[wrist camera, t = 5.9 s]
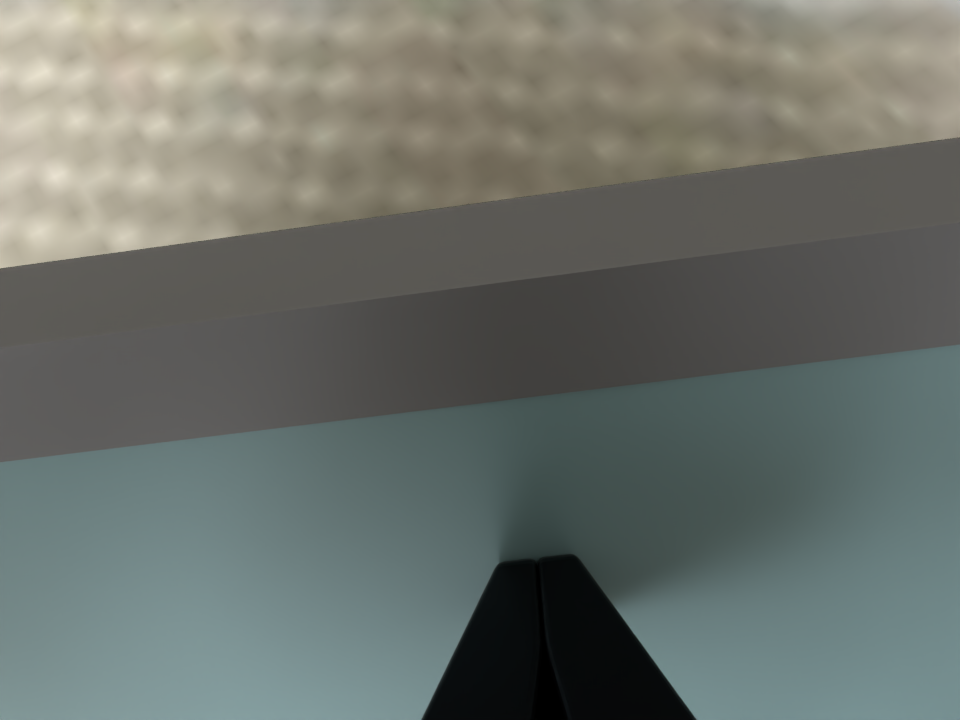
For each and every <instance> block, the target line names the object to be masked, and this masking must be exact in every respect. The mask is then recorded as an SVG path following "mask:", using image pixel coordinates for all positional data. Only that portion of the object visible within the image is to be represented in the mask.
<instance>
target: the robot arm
mask: <svg viewBox="0 0 960 720" xmlns="http://www.w3.org/2000/svg"><path fill="white" fill-rule="evenodd" d="M421 720H697V719H696V718H695V716H694V715H693V714H692V712H691V711H690V710H689V708H688V707H687V705H686V704H685V703H684V701H683V700H682V699H681V697H680V696H679V694H678V693H677V692H676V690H675V689H674V688H673V686H672V685H671V683H670V682H669V681H668V679H667V678H666V677H665V675H664V674H663V672H662V671H661V670H660V668H659V667H658V666H657V664H656V663H655V662H654V660H653V659H652V657H651V656H650V655H649V653H648V652H647V651H646V649H645V648H644V646H643V645H642V644H641V642H640V641H639V640H638V638H637V637H636V635H635V634H634V633H633V631H632V630H631V629H630V627H629V626H628V624H627V623H626V622H625V620H624V619H623V618H622V616H621V615H620V613H619V612H618V611H617V609H616V608H615V607H614V605H613V604H612V602H611V601H610V600H609V598H608V597H607V596H606V594H605V593H604V591H603V590H602V589H601V587H600V586H599V585H598V583H597V582H596V580H595V579H594V578H593V576H592V575H591V574H590V572H589V571H588V569H587V568H586V567H585V565H584V564H583V563H582V561H581V560H580V559H579V558H578V557H577V556H576V555H574V554H566V555H557V556H548V557H542V558H541V559H539V561H538V566H537V563H536V562H535V560H533V559H521V560H512V561H504V562H500V563H499V564H497V566H496V567H495V569H494V570H493V573H492V575H491V577H490V579H489V581H488V583H487V585H486V587H485V589H484V591H483V593H482V595H481V597H480V599H479V601H478V603H477V605H476V608H475V610H474V612H473V614H472V616H471V618H470V620H469V622H468V624H467V626H466V628H465V630H464V632H463V634H462V636H461V638H460V640H459V643H458V645H457V647H456V649H455V651H454V653H453V655H452V657H451V659H450V661H449V663H448V665H447V667H446V669H445V671H444V673H443V675H442V678H441V680H440V682H439V684H438V686H437V688H436V690H435V692H434V694H433V696H432V698H431V700H430V702H429V704H428V706H427V708H426V710H425V713H424V715H423V717H422V719H421Z"/></svg>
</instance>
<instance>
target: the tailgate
mask: <svg viewBox="0 0 960 720" xmlns="http://www.w3.org/2000/svg"><path fill="white" fill-rule="evenodd" d="M566 554H574V555H576V556H577V557H578V558H579V559H580V560H581V561H582V563H583V564H584V565H585V567H586V568H587V569H588V571H589V572H590V574H591V575H592V576H593V578H594V579H595V580H596V582H597V583H598V585H599V586H600V587H601V589H602V590H603V591H604V593H605V594H606V596H607V597H608V598H609V600H610V601H611V602H612V604H613V605H614V607H615V608H616V609H617V611H618V612H619V613H620V615H621V616H622V618H623V619H624V620H625V622H626V623H627V624H628V626H629V627H630V629H631V630H632V631H633V633H634V634H635V635H636V637H637V638H638V640H639V641H640V642H641V644H642V645H643V646H644V648H645V649H646V651H647V652H648V653H649V655H650V656H651V657H652V659H653V660H654V662H655V663H656V664H657V666H658V667H659V668H660V670H661V671H662V672H663V674H664V675H665V677H666V678H667V679H668V681H669V682H670V683H671V685H672V686H673V688H674V689H675V690H676V692H677V693H678V694H679V696H680V697H681V699H682V700H683V701H684V703H685V704H686V705H687V707H688V708H689V710H690V711H691V712H692V714H693V715H694V716H695V718H696V719H697V720H960V138H952V139H945V140H938V141H930V142H923V143H916V144H908V145H901V146H894V147H886V148H879V149H872V150H864V151H857V152H850V153H842V154H835V155H828V156H820V157H813V158H806V159H798V160H791V161H784V162H777V163H769V164H762V165H755V166H747V167H740V168H733V169H725V170H718V171H711V172H703V173H696V174H689V175H681V176H674V177H667V178H659V179H652V180H645V181H637V182H630V183H623V184H615V185H608V186H601V187H593V188H586V189H579V190H572V191H564V192H557V193H550V194H542V195H535V196H528V197H520V198H513V199H506V200H498V201H491V202H484V203H476V204H469V205H462V206H454V207H447V208H440V209H432V210H425V211H418V212H410V213H403V214H396V215H389V216H381V217H374V218H367V219H359V220H352V221H345V222H337V223H330V224H323V225H315V226H308V227H301V228H293V229H286V230H279V231H271V232H264V233H257V234H249V235H242V236H235V237H227V238H220V239H213V240H206V241H198V242H191V243H184V244H176V245H169V246H162V247H154V248H147V249H140V250H132V251H125V252H118V253H110V254H103V255H96V256H88V257H81V258H74V259H66V260H59V261H52V262H44V263H37V264H30V265H22V266H15V267H8V268H1V269H0V720H421V719H422V717H423V715H424V713H425V710H426V708H427V706H428V704H429V702H430V700H431V698H432V696H433V694H434V692H435V690H436V688H437V686H438V684H439V682H440V680H441V678H442V675H443V673H444V671H445V669H446V667H447V665H448V663H449V661H450V659H451V657H452V655H453V653H454V651H455V649H456V647H457V645H458V643H459V640H460V638H461V636H462V634H463V632H464V630H465V628H466V626H467V624H468V622H469V620H470V618H471V616H472V614H473V612H474V610H475V608H476V605H477V603H478V601H479V599H480V597H481V595H482V593H483V591H484V589H485V587H486V585H487V583H488V581H489V579H490V577H491V575H492V573H493V570H494V569H495V567H496V566H497V564H499V563H500V562H504V561H512V560H521V559H533V560H535V562H536V563H537V566H538V561H539V559H541V558H542V557H548V556H557V555H566Z"/></svg>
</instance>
